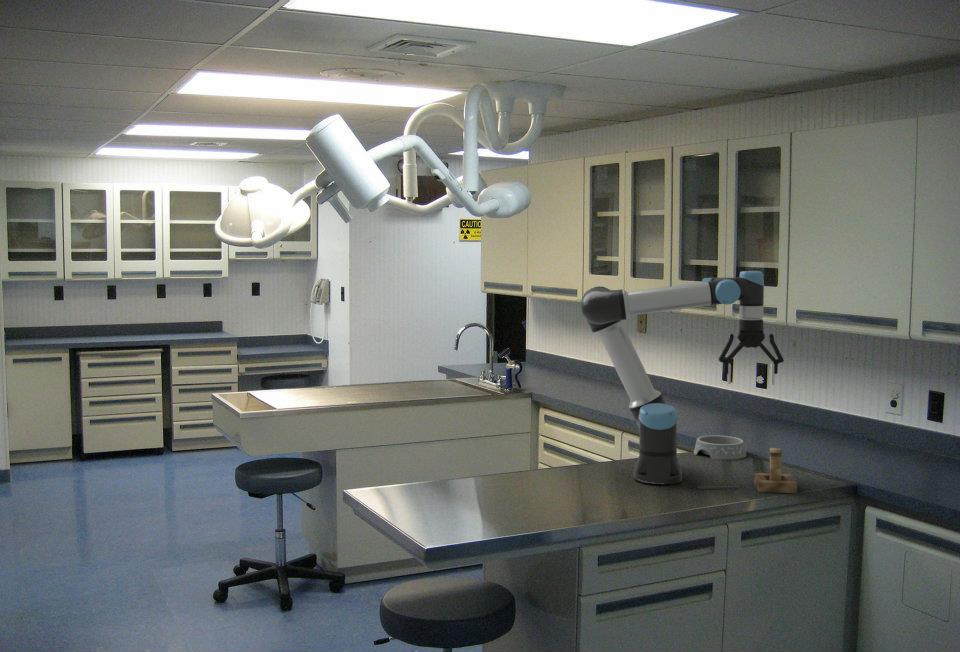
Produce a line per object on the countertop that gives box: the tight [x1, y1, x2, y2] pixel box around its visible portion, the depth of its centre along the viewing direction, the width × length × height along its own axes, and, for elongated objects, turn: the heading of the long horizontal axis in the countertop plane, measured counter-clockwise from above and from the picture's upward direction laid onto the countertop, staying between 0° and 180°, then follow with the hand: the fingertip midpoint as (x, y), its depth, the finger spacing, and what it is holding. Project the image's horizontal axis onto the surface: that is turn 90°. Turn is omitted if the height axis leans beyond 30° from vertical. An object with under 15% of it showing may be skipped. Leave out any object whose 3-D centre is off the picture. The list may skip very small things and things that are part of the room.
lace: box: [698, 485, 739, 490], centre depth 278 cm, size 12×1×1 cm, turn 90°
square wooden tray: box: [753, 472, 798, 494], centre depth 278 cm, size 11×11×3 cm
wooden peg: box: [769, 447, 783, 481], centre depth 278 cm, size 3×3×12 cm
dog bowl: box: [693, 434, 747, 461], centre depth 324 cm, size 17×18×5 cm
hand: (750, 383), depth 297 cm, fingers open, 13 cm apart
